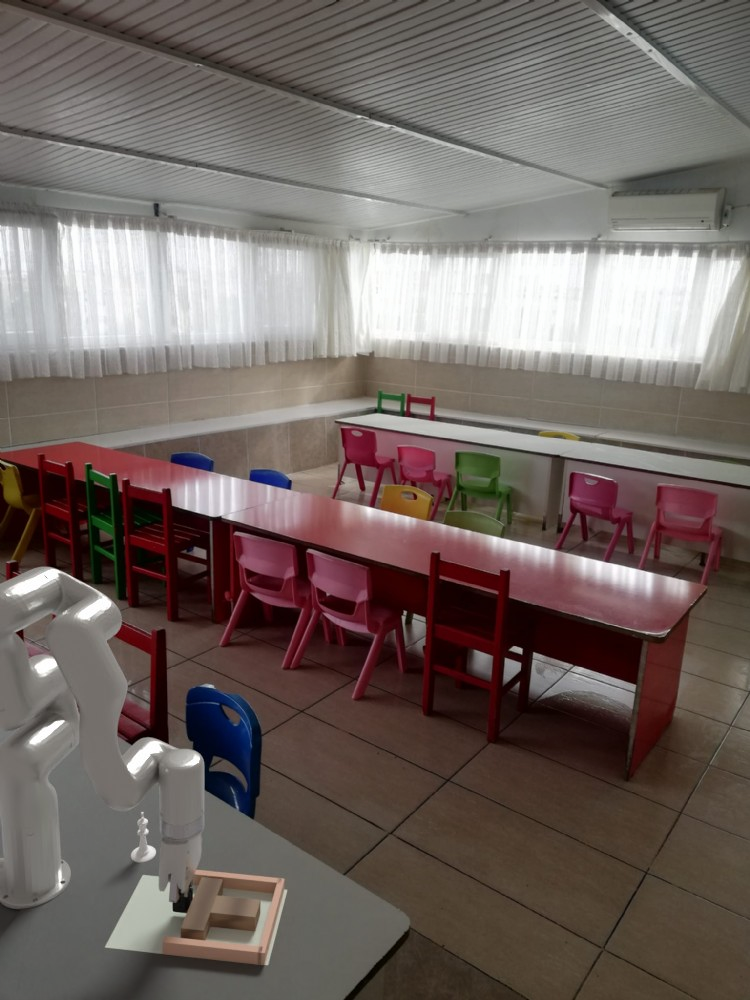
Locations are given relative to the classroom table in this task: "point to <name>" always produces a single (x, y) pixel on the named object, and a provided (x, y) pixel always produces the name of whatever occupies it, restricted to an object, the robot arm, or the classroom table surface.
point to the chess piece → (143, 843)
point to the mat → (179, 920)
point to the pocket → (228, 949)
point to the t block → (218, 911)
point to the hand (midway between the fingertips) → (182, 909)
